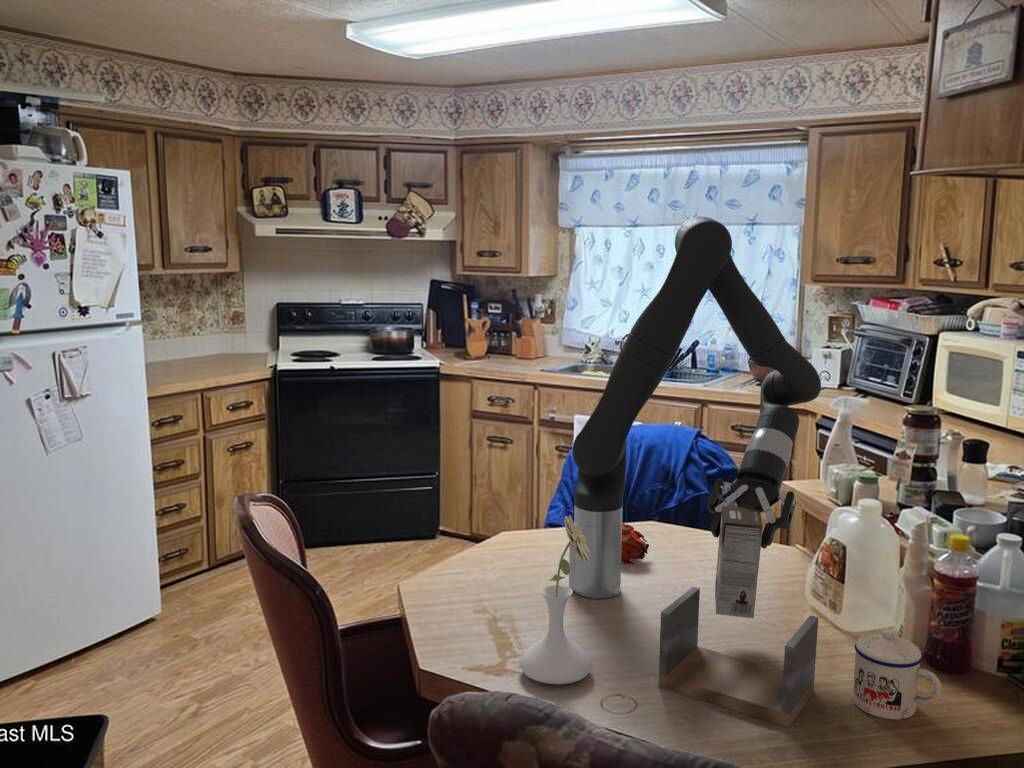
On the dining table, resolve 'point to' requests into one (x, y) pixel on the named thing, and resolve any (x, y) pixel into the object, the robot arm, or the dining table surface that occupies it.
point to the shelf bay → (735, 668)
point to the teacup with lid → (889, 676)
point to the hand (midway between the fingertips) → (738, 540)
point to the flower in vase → (559, 627)
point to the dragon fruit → (632, 545)
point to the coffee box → (738, 561)
